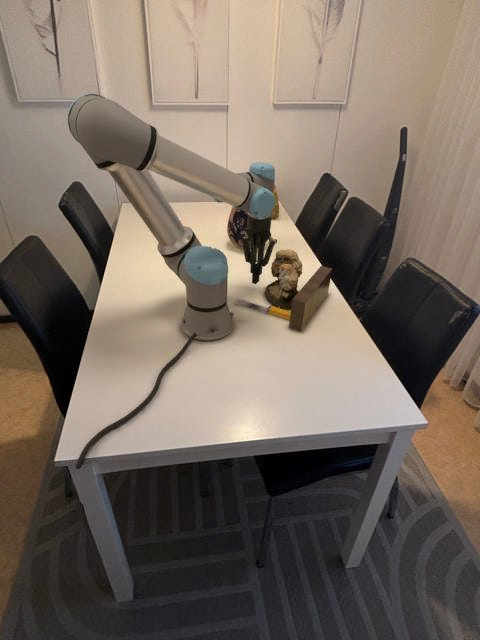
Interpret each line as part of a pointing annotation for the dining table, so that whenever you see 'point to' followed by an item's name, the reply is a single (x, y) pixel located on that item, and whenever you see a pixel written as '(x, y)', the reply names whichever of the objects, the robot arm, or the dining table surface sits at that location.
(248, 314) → the dining table surface
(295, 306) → the walnut rail
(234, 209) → the ceramic pitcher
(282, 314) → the yellow handled chisel
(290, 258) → the beige stone figure
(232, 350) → the dining table surface
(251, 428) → the dining table surface
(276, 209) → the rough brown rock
